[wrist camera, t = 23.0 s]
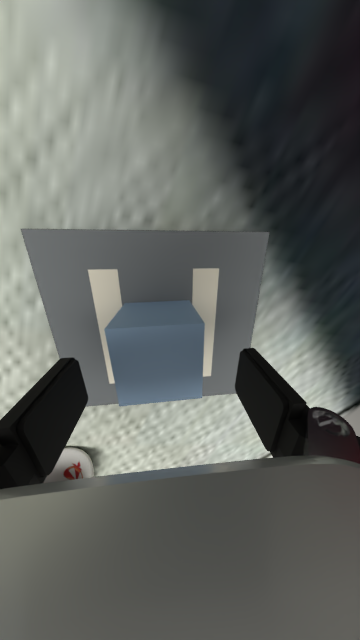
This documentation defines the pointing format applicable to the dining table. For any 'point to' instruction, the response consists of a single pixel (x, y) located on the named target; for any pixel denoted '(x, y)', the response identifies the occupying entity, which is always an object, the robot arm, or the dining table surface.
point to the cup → (71, 466)
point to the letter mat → (147, 292)
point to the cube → (156, 352)
